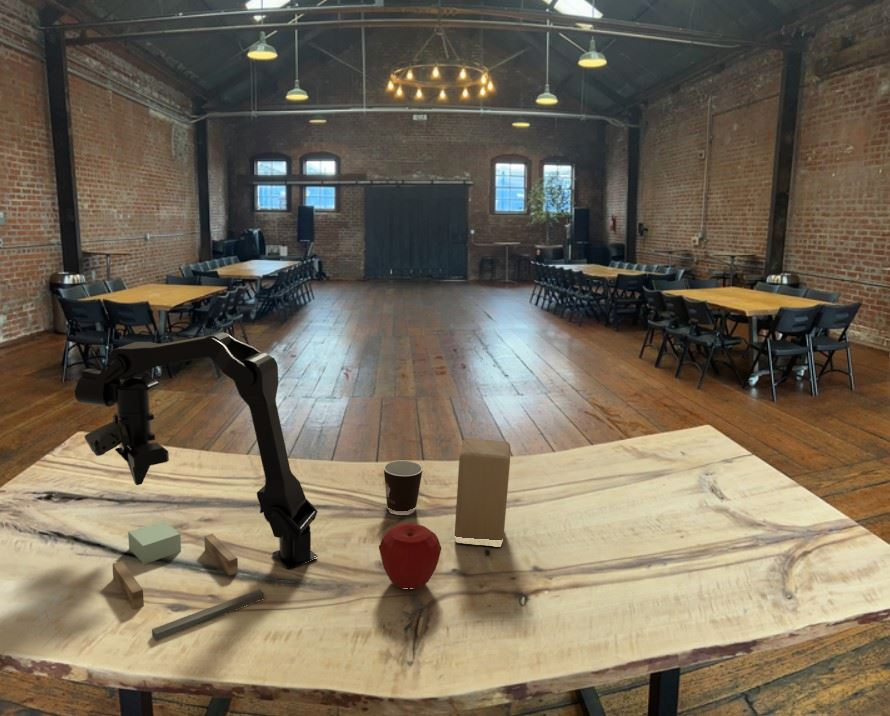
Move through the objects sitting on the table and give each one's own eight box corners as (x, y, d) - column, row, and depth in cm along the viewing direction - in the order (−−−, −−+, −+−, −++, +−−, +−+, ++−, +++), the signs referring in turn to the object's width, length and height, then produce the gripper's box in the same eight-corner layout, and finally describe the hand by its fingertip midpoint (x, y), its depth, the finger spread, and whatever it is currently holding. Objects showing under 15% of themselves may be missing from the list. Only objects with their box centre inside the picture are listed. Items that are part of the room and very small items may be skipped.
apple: (449, 580, 125) (452, 523, 122) (417, 608, 116) (420, 547, 113) (400, 561, 131) (402, 506, 128) (366, 587, 122) (368, 528, 119)
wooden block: (503, 526, 146) (510, 440, 142) (502, 550, 137) (510, 458, 132) (457, 522, 147) (463, 435, 142) (453, 545, 138) (459, 453, 133)
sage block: (181, 552, 130) (180, 533, 129) (144, 565, 125) (143, 545, 124) (165, 538, 135) (164, 520, 134) (129, 550, 130) (128, 531, 129)
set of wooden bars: (264, 599, 117) (264, 583, 116) (155, 641, 105) (154, 624, 104) (213, 547, 132) (212, 533, 131) (113, 578, 120) (112, 563, 119)
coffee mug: (419, 519, 147) (421, 477, 145) (380, 517, 147) (381, 474, 145) (422, 496, 159) (424, 456, 156) (385, 493, 159) (387, 454, 156)
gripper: (73, 403, 131) (80, 477, 134) (102, 431, 117) (108, 513, 121) (134, 393, 138) (138, 465, 142) (167, 419, 124) (171, 497, 128)
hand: (138, 484), depth 133 cm, fingers closed
